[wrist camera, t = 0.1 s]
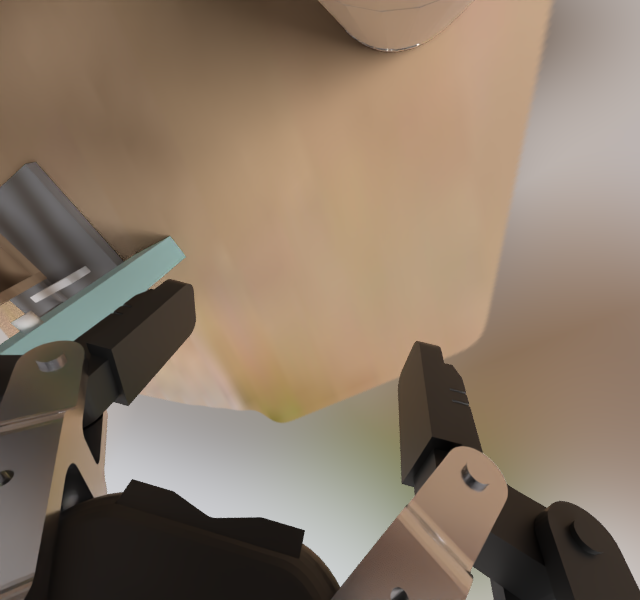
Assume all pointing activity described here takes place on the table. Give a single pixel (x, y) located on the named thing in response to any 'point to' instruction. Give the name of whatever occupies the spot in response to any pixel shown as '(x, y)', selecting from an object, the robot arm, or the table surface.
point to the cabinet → (46, 244)
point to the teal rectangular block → (94, 299)
